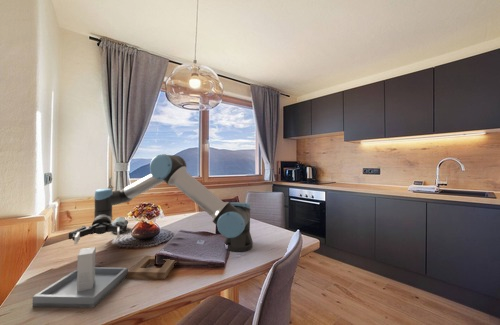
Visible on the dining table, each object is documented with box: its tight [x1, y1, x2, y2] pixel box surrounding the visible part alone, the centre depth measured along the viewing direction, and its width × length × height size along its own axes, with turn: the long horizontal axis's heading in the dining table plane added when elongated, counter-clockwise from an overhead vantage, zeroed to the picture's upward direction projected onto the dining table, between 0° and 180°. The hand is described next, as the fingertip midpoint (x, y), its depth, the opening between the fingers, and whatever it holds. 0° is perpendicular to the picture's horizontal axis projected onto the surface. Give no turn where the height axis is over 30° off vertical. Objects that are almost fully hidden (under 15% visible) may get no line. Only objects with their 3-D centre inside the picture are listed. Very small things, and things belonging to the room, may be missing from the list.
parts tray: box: [32, 266, 129, 308], centre depth 72 cm, size 18×18×3 cm
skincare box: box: [76, 246, 96, 292], centre depth 72 cm, size 6×4×12 cm
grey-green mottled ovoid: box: [111, 216, 129, 234], centre depth 132 cm, size 14×10×10 cm
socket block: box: [126, 255, 175, 280], centre depth 86 cm, size 14×14×2 cm
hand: (97, 237), depth 84 cm, fingers open, 13 cm apart
